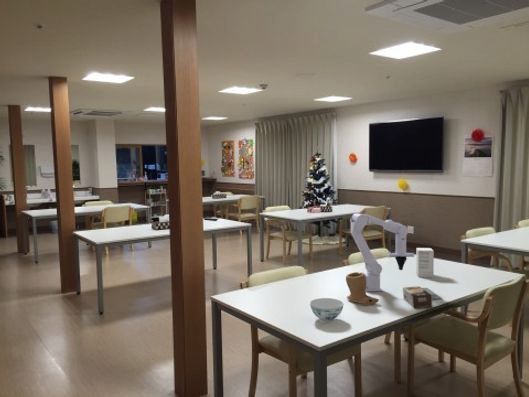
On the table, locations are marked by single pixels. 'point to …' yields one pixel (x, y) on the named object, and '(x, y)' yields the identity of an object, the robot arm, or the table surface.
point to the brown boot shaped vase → (359, 289)
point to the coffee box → (417, 297)
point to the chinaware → (326, 308)
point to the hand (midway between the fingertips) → (400, 269)
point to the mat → (432, 294)
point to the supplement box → (424, 262)
